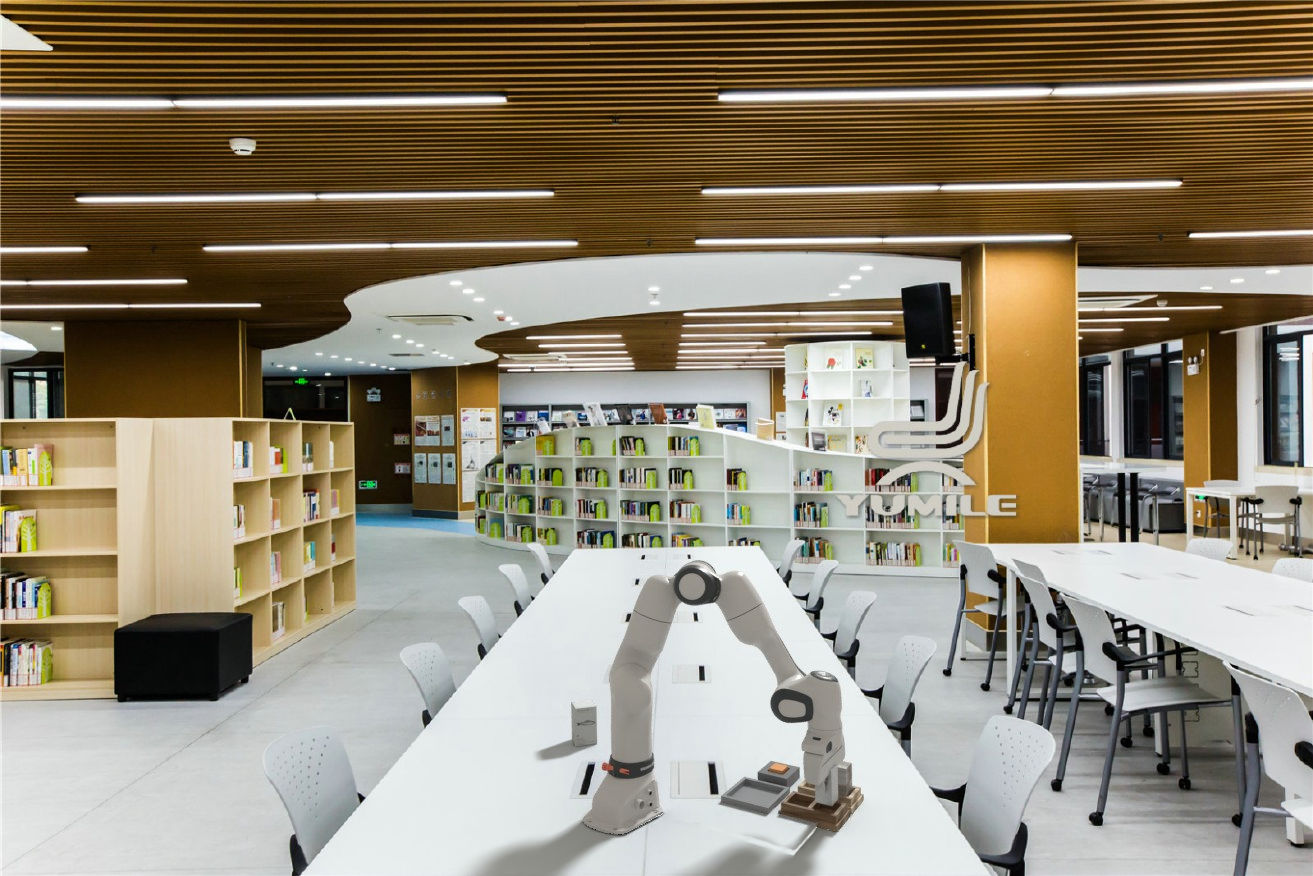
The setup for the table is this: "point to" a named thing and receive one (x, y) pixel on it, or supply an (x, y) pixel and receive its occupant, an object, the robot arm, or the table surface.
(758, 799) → the tray
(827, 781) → the block
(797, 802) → the pallet
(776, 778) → the button console
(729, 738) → the table surface
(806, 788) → the tray
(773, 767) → the button
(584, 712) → the supplement box
